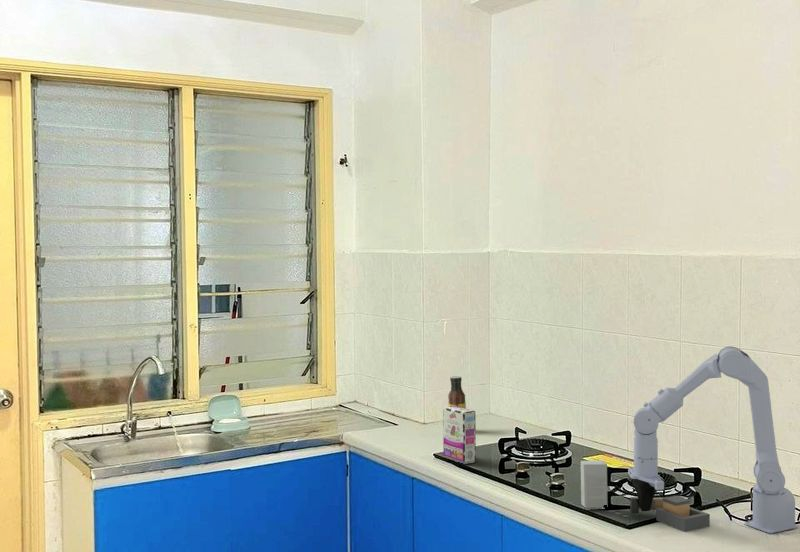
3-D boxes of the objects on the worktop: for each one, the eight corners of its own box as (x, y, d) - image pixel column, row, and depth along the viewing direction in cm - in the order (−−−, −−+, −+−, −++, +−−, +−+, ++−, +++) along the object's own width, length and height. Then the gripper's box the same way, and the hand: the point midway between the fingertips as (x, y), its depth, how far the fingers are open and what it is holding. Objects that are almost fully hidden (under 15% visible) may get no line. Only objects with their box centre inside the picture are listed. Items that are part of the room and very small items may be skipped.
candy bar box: (476, 462, 279) (476, 410, 278) (464, 465, 276) (463, 412, 275) (455, 455, 288) (454, 405, 288) (442, 458, 286) (442, 407, 285)
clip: (682, 511, 227) (683, 495, 226) (685, 513, 225) (685, 497, 225) (630, 512, 226) (630, 497, 226) (632, 514, 224) (631, 498, 224)
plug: (676, 517, 224) (676, 495, 223) (689, 522, 220) (689, 500, 219) (663, 520, 222) (663, 498, 221) (675, 525, 218) (675, 502, 217)
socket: (681, 512, 227) (681, 500, 227) (715, 525, 217) (715, 513, 217) (650, 518, 223) (650, 506, 223) (684, 531, 213) (684, 519, 212)
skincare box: (603, 505, 234) (603, 459, 234) (607, 510, 230) (607, 464, 229) (580, 505, 234) (580, 460, 233) (584, 510, 230) (584, 464, 229)
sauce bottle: (467, 429, 326) (466, 375, 325) (466, 433, 320) (466, 378, 319) (449, 429, 327) (448, 375, 326) (448, 433, 321) (447, 378, 320)
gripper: (617, 450, 229) (617, 503, 230) (645, 465, 215) (645, 520, 216) (642, 449, 231) (642, 501, 231) (672, 463, 217) (671, 518, 217)
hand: (645, 510), depth 224 cm, fingers closed
